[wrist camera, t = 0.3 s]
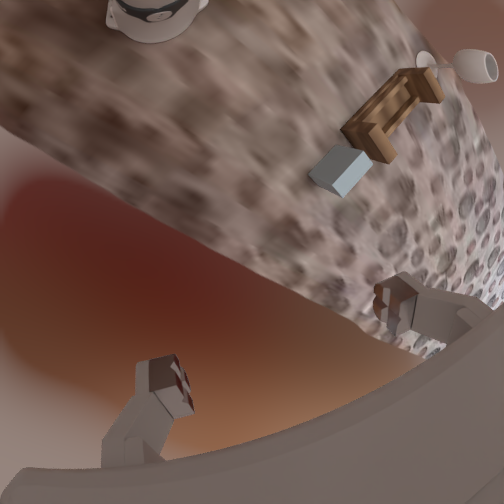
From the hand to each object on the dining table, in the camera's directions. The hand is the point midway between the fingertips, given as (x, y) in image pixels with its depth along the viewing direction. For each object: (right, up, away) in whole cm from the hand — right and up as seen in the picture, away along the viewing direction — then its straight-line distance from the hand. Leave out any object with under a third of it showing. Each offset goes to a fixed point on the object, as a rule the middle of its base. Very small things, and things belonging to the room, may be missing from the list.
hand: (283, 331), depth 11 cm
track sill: (+28, +35, +46) cm, 64 cm away
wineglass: (+43, +50, +43) cm, 79 cm away
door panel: (+14, +21, +48) cm, 54 cm away
